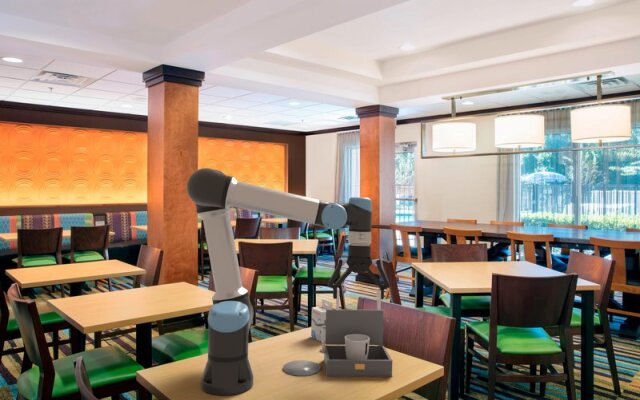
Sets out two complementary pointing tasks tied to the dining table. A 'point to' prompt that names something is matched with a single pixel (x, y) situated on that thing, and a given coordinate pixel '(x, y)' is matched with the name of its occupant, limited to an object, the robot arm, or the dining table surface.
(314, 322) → the ink box
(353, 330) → the case
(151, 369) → the dining table surface
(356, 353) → the cup
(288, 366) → the slate coaster
